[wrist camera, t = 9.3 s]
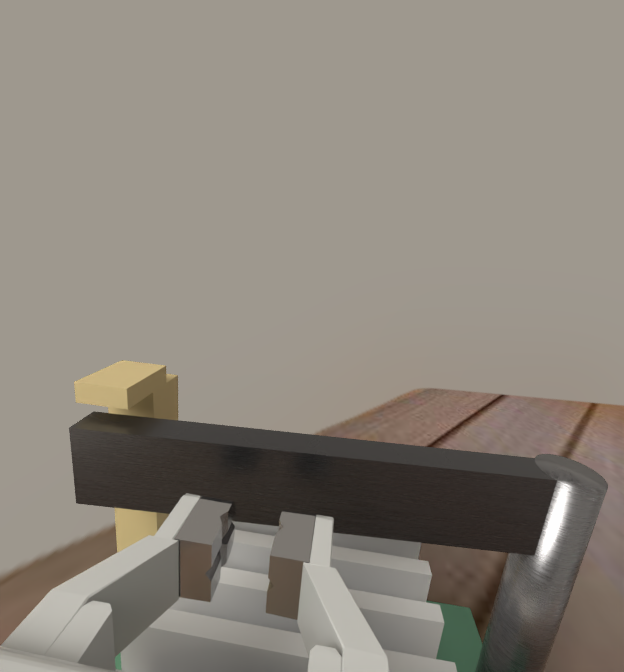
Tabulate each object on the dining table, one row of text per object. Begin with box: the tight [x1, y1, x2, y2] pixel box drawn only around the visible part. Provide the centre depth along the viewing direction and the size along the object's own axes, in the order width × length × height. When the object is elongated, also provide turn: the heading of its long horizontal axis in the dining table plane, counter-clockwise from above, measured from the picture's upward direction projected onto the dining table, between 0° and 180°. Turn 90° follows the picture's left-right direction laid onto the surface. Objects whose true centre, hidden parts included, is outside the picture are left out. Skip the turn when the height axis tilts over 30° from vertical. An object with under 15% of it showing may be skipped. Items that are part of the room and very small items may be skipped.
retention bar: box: [69, 412, 608, 672], centre depth 13 cm, size 18×2×14 cm, turn 87°
